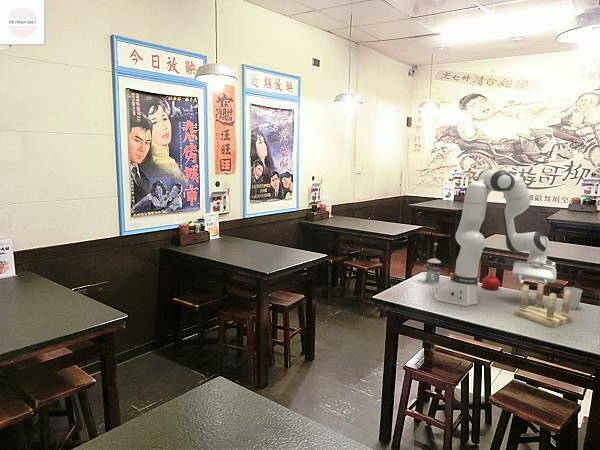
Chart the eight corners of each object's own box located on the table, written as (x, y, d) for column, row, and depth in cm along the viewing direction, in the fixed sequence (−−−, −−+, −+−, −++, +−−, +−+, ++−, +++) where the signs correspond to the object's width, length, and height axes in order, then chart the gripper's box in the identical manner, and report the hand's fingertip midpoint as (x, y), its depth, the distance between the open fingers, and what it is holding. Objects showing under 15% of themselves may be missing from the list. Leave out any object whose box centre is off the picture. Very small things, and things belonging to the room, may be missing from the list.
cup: (582, 310, 217) (585, 292, 215) (565, 309, 218) (567, 290, 216) (575, 305, 224) (578, 287, 223) (559, 304, 226) (561, 286, 224)
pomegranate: (491, 292, 243) (492, 276, 242) (477, 286, 252) (479, 272, 250) (503, 290, 247) (505, 275, 246) (489, 285, 256) (491, 270, 254)
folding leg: (541, 304, 210) (544, 282, 209) (534, 303, 212) (537, 280, 210) (542, 303, 213) (545, 280, 211) (535, 301, 214) (538, 279, 213)
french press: (444, 285, 252) (447, 244, 248) (427, 286, 249) (430, 244, 245) (434, 280, 262) (438, 241, 258) (418, 281, 259) (421, 241, 255)
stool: (551, 327, 192) (555, 295, 190) (513, 314, 208) (517, 284, 205) (572, 321, 201) (576, 290, 199) (534, 308, 217) (538, 279, 214)
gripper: (514, 256, 225) (508, 278, 219) (558, 263, 214) (554, 286, 207) (514, 263, 230) (509, 284, 223) (558, 270, 218) (554, 292, 212)
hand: (531, 285), depth 215 cm, fingers open, 8 cm apart
